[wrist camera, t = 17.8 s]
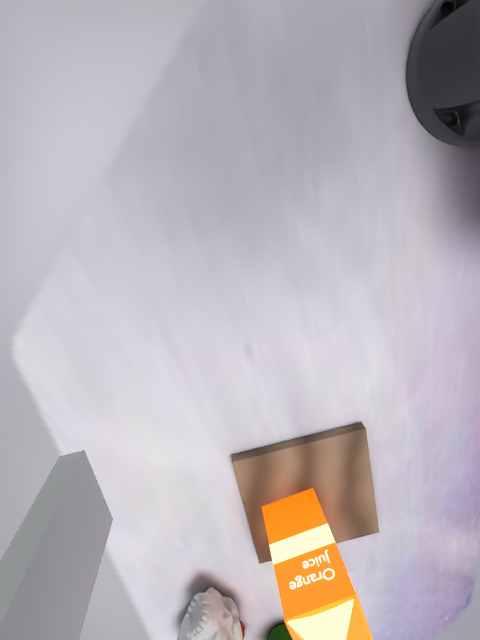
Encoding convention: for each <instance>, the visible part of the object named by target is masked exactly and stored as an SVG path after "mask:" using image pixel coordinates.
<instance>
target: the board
mask: <svg viewBox="0 0 480 640" xmlns="http://www.w3.org/2000/svg"><path fill="white" fill-rule="evenodd" d="M231 457H232V464H233V467H234V471H235V475H236V478H237V482H238V486H239V490H240V493H241V497H242V501H243V504H244V508H245V512H246V516H247V519H248V523H249V527H250V530H251V534H252V538H253V541H254V545H255V549H256V553H257V556H258V560H259V564H260V563H264V562H268V561H272V556H271V551H270V547H269V540H268V535H267V530H266V525H265V521H264V516H263V511H262V507H263V506H265V505H268V504H271V503H274V502H276V501H279V500H282V499H284V498H287V497H290V496H292V495H295V494H298V493H301V492H303V491H306V490H309V489H311V488H313V489H314V491H315V494H316V496H317V499H318V501H319V504H320V506H321V509H322V511H323V514H324V516H325V519H326V521H327V523H328V525H329V528H330V530H331V533H332V535H333V537H334V540H335V542H336V543H340V542H343V541H347V540H351V539H355V538H359V537H362V536H366V535H370V534H374V533H378V532H379V527H378V520H377V512H376V504H375V496H374V489H373V481H372V473H371V466H370V458H369V450H368V443H367V435H366V428H365V427H364V426H363V424H362V423H361V422H360V423H356V424H352V425H348V426H344V427H340V428H336V429H332V430H328V431H324V432H320V433H316V434H313V435H309V436H305V437H301V438H297V439H293V440H289V441H285V442H281V443H277V444H273V445H269V446H265V447H261V448H257V449H253V450H249V451H245V452H241V453H237V454H234V455H231Z"/></svg>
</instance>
